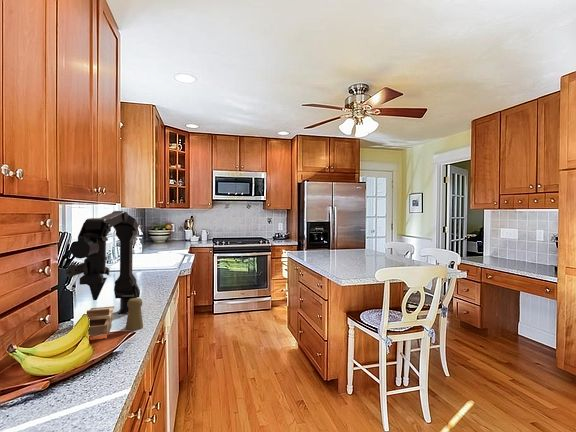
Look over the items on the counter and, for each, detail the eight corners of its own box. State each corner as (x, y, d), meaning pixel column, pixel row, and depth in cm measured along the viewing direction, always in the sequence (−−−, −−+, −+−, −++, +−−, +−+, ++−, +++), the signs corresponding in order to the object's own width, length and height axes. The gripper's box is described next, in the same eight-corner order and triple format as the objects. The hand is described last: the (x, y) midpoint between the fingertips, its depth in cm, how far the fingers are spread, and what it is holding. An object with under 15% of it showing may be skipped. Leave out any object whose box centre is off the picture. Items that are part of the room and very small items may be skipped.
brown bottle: (138, 323, 124) (139, 295, 123) (146, 327, 120) (146, 298, 120) (122, 327, 119) (123, 298, 119) (129, 332, 115) (130, 301, 115)
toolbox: (86, 329, 117) (87, 316, 117) (111, 326, 120) (111, 314, 120) (79, 341, 106) (79, 328, 106) (106, 338, 109) (107, 325, 109)
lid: (90, 310, 124) (91, 303, 124) (114, 308, 127) (114, 301, 127) (84, 320, 113) (84, 312, 113) (110, 318, 116) (110, 310, 116)
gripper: (75, 252, 116) (74, 295, 116) (60, 259, 98) (59, 309, 98) (110, 251, 120) (109, 293, 120) (102, 257, 103) (100, 306, 103)
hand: (95, 299), depth 110 cm, fingers closed
